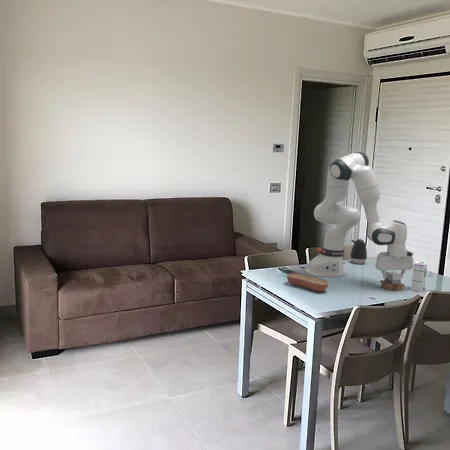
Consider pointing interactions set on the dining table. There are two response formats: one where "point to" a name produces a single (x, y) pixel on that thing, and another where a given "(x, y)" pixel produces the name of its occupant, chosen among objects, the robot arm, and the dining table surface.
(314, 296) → the dining table surface
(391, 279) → the housing
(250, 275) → the dining table surface
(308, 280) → the bread loaf
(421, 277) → the syrup box
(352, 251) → the black kettle
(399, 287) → the stand
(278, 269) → the dining table surface
